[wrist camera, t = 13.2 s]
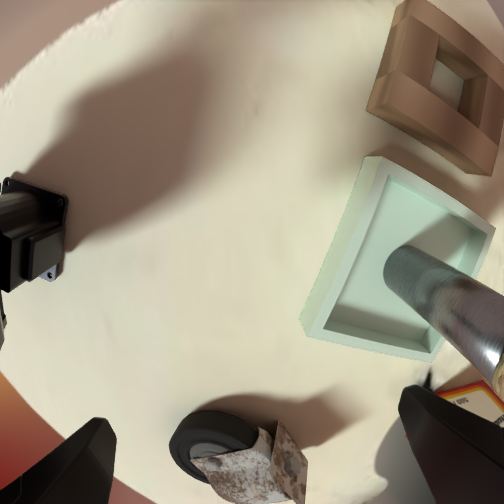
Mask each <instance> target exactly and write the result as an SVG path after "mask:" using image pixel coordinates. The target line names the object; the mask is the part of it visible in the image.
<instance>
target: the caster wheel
mask: <svg viewBox="0 0 504 504" xmlns="http://www.w3.org/2000/svg"><path fill="white" fill-rule="evenodd" d="M169 450H170V453H171V456H172V458H173V459H174V461H175V462H176V464H177V465H178V466H179V467H180V468H181V469H182V470H183V471H185V472H186V473H187V474H189V475H190V476H192V477H193V478H195V479H197V480H200V481H202V482H204V483H207V484H211V486H212V488H213V489H214V491H215V492H216V493H217V494H218V495H219V496H220V497H222V498H223V499H225V500H227V501H229V502H231V503H235V504H269V503H275V502H281V501H287V500H292V499H293V500H294V502H295V503H296V504H305V494H306V482H307V468H308V461H307V459H306V458H305V456H304V455H303V453H302V452H301V451H300V449H299V448H298V446H297V445H296V443H295V442H294V441H293V439H292V438H291V436H290V435H289V433H288V432H287V430H286V429H285V427H284V426H283V425H282V423H281V422H280V421H278V426H277V432H276V437H275V440H274V439H273V438H272V437H271V435H270V434H269V433H268V432H267V431H265V430H263V429H262V428H260V427H252V426H251V425H250V424H248V423H247V422H245V421H243V420H242V419H240V418H237V417H235V416H232V415H229V414H225V413H221V412H214V411H203V412H197V413H193V414H191V415H188V416H187V417H186V418H184V419H183V420H182V421H181V423H180V424H179V426H178V427H177V429H176V431H175V432H174V434H173V436H172V437H171V440H170V442H169Z"/></svg>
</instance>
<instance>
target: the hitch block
mask: <svg viewBox="0 0 504 504" xmlns="http://www.w3.org/2000/svg"><path fill="white" fill-rule="evenodd" d="M435 58H436V59H438V60H439V61H440V62H442V63H443V64H444V65H446V66H447V67H448V68H450V69H451V70H452V71H454V72H455V73H456V74H457V75H459V76H460V77H461V78H462V79H463V80H464V85H463V91H462V96H461V101H460V106H459V110H458V112H457V111H456V110H455V109H453V108H452V107H451V106H450V105H448V104H447V103H446V102H444V101H443V100H441V99H440V98H439V97H437V96H436V95H434V94H433V93H432V92H430V91H429V90H428V89H429V85H430V80H431V76H432V71H433V67H434V62H435ZM366 111H368V112H370V113H371V114H373V115H375V116H377V117H379V118H381V119H383V120H384V121H386V122H388V123H390V124H391V125H393V126H395V127H397V128H398V129H400V130H402V131H404V132H405V133H407V134H409V135H410V136H412V137H413V138H415V139H417V140H418V141H420V142H421V143H423V144H425V145H426V146H428V147H429V148H431V149H432V150H434V151H435V152H437V153H438V154H440V155H441V156H443V157H444V158H446V159H447V160H448V161H450V162H451V163H453V164H454V165H456V166H457V167H458V168H460V169H461V170H462V171H464V172H465V173H467V174H475V175H482V176H490V177H491V176H492V172H493V168H494V164H495V160H496V155H497V151H498V146H499V141H500V136H501V131H502V125H503V119H504V64H503V63H502V62H501V61H500V60H499V59H498V58H497V57H496V56H495V55H493V54H492V53H491V52H490V51H489V50H488V49H487V48H486V47H485V46H484V45H483V44H482V43H481V42H479V41H478V40H477V39H476V38H475V37H474V36H473V35H471V34H470V33H469V32H468V31H467V30H466V29H464V28H463V27H462V26H461V25H459V24H458V23H457V22H456V21H454V20H453V19H452V18H450V17H449V16H448V15H447V14H445V13H444V12H442V11H441V10H440V9H438V8H437V7H436V6H434V5H433V4H431V3H430V2H428V1H427V0H405V1H404V2H402V3H401V4H400V5H399V6H397V7H396V10H395V14H394V18H393V21H392V25H391V29H390V32H389V36H388V40H387V43H386V47H385V50H384V53H383V57H382V60H381V64H380V67H379V70H378V73H377V77H376V80H375V83H374V86H373V90H372V93H371V96H370V99H369V102H368V105H367V108H366Z"/></svg>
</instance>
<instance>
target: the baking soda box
mask: <svg viewBox="0 0 504 504" xmlns="http://www.w3.org/2000/svg"><path fill="white" fill-rule="evenodd" d="M435 394H436V395H438V396H440V397H442V398H444V399H446V400H448V401H450V402H452V403H454V404H456V405H458V406H460V407H462V408H464V409H466V410H468V411H470V412H472V413H474V414H476V415H479V416H481V417H483V418H485V419H487V420H489V421H491V422H493V423H495V424H498V425H500V426H501V427H504V402H503V401H502V400H501V399H500V398H499V397H498V396H497V395H496V394H495V393H494V391H493V390H492V389H491V388H490V387H489V386H488V385H487V384H486V383H485V382H484V381H483V380H482V381H479V382H476V383H472V384H469V385H465V386H462V387H458V388H455V389H451V390H447V391H443V392H439V393H435ZM406 437H407V435H406ZM407 439H408V438H407Z"/></svg>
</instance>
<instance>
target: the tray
mask: <svg viewBox="0 0 504 504" xmlns="http://www.w3.org/2000/svg"><path fill="white" fill-rule="evenodd" d="M495 230H496V228H495V227H494V226H492V225H491V224H490V223H488V222H487V221H486V220H484V219H483V218H482V217H480V216H479V215H477V214H476V213H474V212H473V211H472V210H470V209H469V208H467V207H466V206H464V205H463V204H461V203H460V202H458V201H457V200H455V199H454V198H452V197H451V196H449V195H448V194H446V193H445V192H443V191H442V190H440V189H438V188H437V187H435V186H433V185H432V184H430V183H429V182H427V181H425V180H424V179H422V178H420V177H419V176H417V175H415V174H413V173H412V172H410V171H408V170H406V169H405V168H403V167H401V166H399V165H398V164H396V163H394V162H392V161H390V160H388V159H386V158H385V157H383V156H365V158H364V161H363V164H362V166H361V169H360V172H359V175H358V177H357V180H356V183H355V186H354V188H353V191H352V194H351V196H350V199H349V201H348V204H347V207H346V209H345V212H344V214H343V217H342V219H341V222H340V224H339V227H338V229H337V232H336V234H335V237H334V239H333V242H332V244H331V247H330V249H329V251H328V254H327V256H326V259H325V261H324V263H323V266H322V268H321V270H320V273H319V275H318V277H317V279H316V282H315V284H314V286H313V289H312V291H311V293H310V295H309V298H308V300H307V302H306V304H305V306H304V309H303V311H302V313H301V315H300V317H299V320H300V322H301V324H302V327H303V329H304V331H305V334H306V336H307V337H311V338H315V339H319V340H323V341H327V342H332V343H336V344H340V345H345V346H349V347H353V348H358V349H363V350H367V351H372V352H377V353H382V354H386V355H391V356H397V357H402V358H407V359H412V360H418V361H424V362H429V363H432V362H433V360H434V359H435V357H436V356H437V354H438V352H439V351H440V349H441V347H442V345H443V344H444V342H445V340H446V339H445V338H444V337H443V336H442V335H441V334H440V333H439V332H438V331H437V330H435V329H434V328H433V327H432V326H431V325H430V324H429V323H428V322H427V321H425V320H424V319H423V318H422V317H421V316H420V315H419V314H418V313H417V312H415V311H414V310H413V309H412V308H411V307H410V306H409V305H407V304H406V303H405V302H404V301H403V300H402V299H401V298H399V297H398V296H397V295H396V294H395V293H394V292H392V291H391V290H390V289H389V288H388V287H387V286H386V284H385V282H384V278H383V270H384V265H385V262H386V260H387V258H388V257H389V255H390V254H391V253H392V252H393V251H394V250H395V249H397V248H398V247H401V246H404V245H412V246H414V247H416V248H418V249H420V250H422V251H424V252H426V253H428V254H430V255H432V256H434V257H435V258H437V259H439V260H441V261H443V262H445V263H447V264H448V265H450V266H452V267H454V268H456V269H458V270H459V271H461V272H463V273H465V274H467V275H468V276H470V277H472V278H474V279H475V280H476V279H477V276H478V274H479V272H480V269H481V267H482V265H483V262H484V260H485V257H486V254H487V252H488V249H489V247H490V244H491V241H492V238H493V236H494V233H495Z"/></svg>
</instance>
